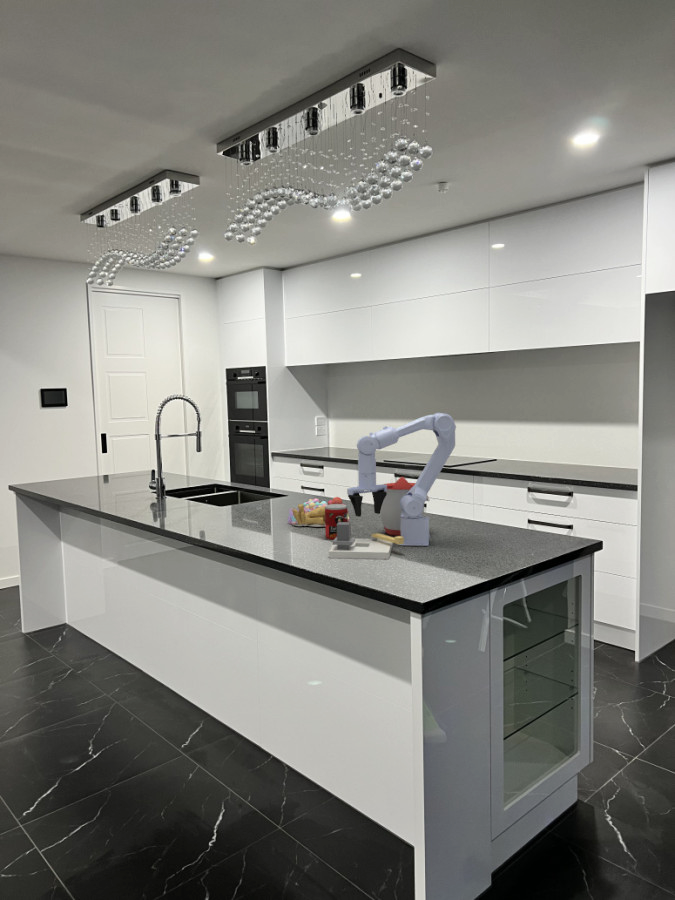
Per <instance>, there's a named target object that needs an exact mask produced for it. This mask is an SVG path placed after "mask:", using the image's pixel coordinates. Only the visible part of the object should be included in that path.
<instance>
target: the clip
mask: <svg viewBox="0 0 675 900" xmlns="http://www.w3.org/2000/svg"><path fill="white" fill-rule="evenodd" d="M370 539H371V540H377V539H381V540H385V541H388V542H391V543H393V544H396V545H397V546H400V545H399V544H404V537H401V536H391V535H387V534H383V533H379V532H370Z"/></svg>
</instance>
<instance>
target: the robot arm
mask: <svg viewBox="0 0 675 900" xmlns="http://www.w3.org/2000/svg"><path fill="white" fill-rule="evenodd" d="M456 428H457V426H456V424H455V421H454V419H453V416H451V415H450V414H448V413H442V412H435V413H434V414H428V415H424V416H422V417H421V416H420V417H419V418H416V419H414V420H412V421H409V422H408V423H405V424H403V425H401V426H399V427H394V426H391V425H390V426H383V427H382V428H381V429H379V430H377V431H375V432H369V433H368V434H369V436H368V435H364V436H361V437H360V438H359V439H358V440H357V442H356V443H357V444H356V448H357V450H358V453H357V454H358V459H357V467H358V469H357V472H358V474H357V475H358V479H357V481H358V486H352V487H349V488H347V490H346V493H347V497H348V499H349V500H350V503H351V504H352V507H353V510H354V515H355V517H361V516H362V504H363V503H362V502H363V499H364V498H363V497H364V496H363V495H360V494H366V493H367V494H368V493H369V494H370V493H371V494H372V499H373V512H374V514H378V515H379V514H380V515H381V507H382V503H383V501H384V499H385V497H386V495H387V492H384V491H387V485H384V484H385V483H382V484H377V466H376V465H377V461H376V460H377V459H376V451H377V450H378V451H379V450H382V449H384V448H385V449H386V448H387V447H389V446H391V445H395V444H398V441H399V439H400V438H402V437H405V436H407V435H410V434H413V433H416V432H418V431H421V430H427V431H433V433H434V435H435V437H436V440H437V446H436V448H435V449H434V450H433V453H432V454H431V456H430V458H429V459H428V461H427V463H426V465H425V466H424V468H423V470H422V471H421V473H420V475H419V476H418V478H417V480H416V481H415V482H414V483H415V485H414V486H413V487H412V488H411V489H410V490H409V492H408V493H407V494H406V495H404V496H403V497H402V498H401V500H400V507H401V509H402V510H403V512H402V514H401V537H404V544H399V545H398V546H409V547H410V546H411V547H412V546H413V547H415V546H417V547H418V546H419V547H422V546H423V547H429V545H430V544H429V543H430V540H431V534H430V517H429V516H424V517H423V514H422V512H423V507H424V508H425V502H427V501H426V498H427V496H428V493H429V492H430V490H431V488H432V486H433V485H434V483H435V482H436V480H437V478H438V476H439V474H441V471H442V470H443V468H444V466H445V464H446V463H447V461H448V459H449V457H450V455H451V454H452V452H453V451H454V449H455V447H456V430H457V429H456Z"/></svg>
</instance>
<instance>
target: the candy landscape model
mask: <svg viewBox="0 0 675 900" xmlns="http://www.w3.org/2000/svg"><path fill="white" fill-rule="evenodd" d="M330 504H344V503H343V499H342V498H341V497H339V496H335V497H333V498H332V499H329V500H328V501H325V500H322V501H320V500H319V498H313V499H311V498H309V499H308V501H305V502H303V503H300V504H298V505H297V509H295V508H291V507H289V508H288V517H287V523H288V524H289V526H290V525H292V526H295V527H303V526H304V527H306V526H308V527H315V528H316V527H325V506H326V505H330ZM344 505H346V504H344ZM349 521H350V516H349V510H348V509H347V522H349Z"/></svg>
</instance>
